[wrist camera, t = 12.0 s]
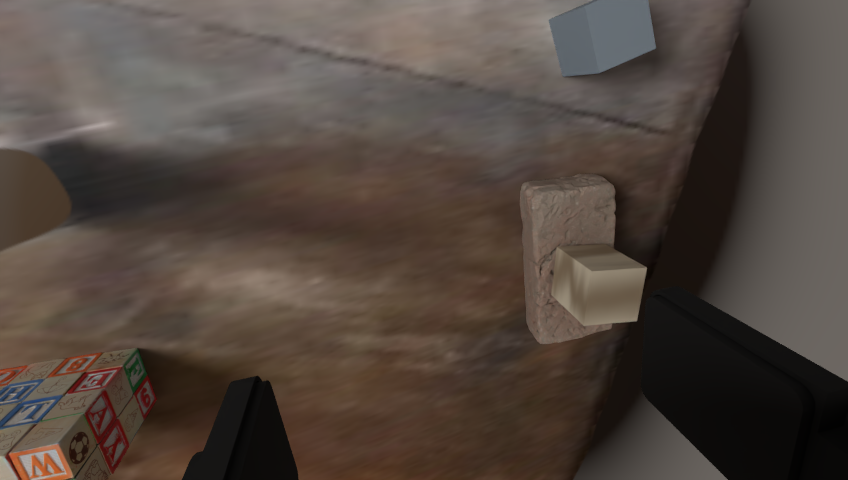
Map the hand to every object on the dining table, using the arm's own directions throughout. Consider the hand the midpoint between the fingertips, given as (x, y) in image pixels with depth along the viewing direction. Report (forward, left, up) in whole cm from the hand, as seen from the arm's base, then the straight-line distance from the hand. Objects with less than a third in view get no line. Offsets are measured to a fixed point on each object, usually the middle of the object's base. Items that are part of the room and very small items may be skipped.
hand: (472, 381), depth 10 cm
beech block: (+12, +17, -26) cm, 34 cm away
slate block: (-9, +20, -30) cm, 37 cm away
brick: (+12, +17, -31) cm, 37 cm away
